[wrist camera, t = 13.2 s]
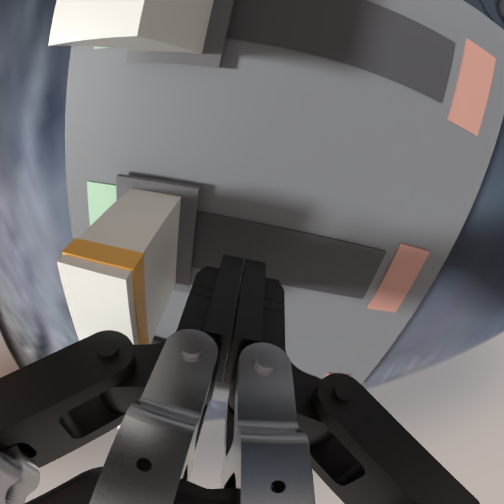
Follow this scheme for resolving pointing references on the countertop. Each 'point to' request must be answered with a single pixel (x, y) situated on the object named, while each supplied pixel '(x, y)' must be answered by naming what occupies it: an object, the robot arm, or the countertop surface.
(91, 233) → the block
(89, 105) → the breaker panel
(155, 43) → the breaker
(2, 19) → the countertop surface
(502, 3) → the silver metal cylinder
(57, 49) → the countertop surface
